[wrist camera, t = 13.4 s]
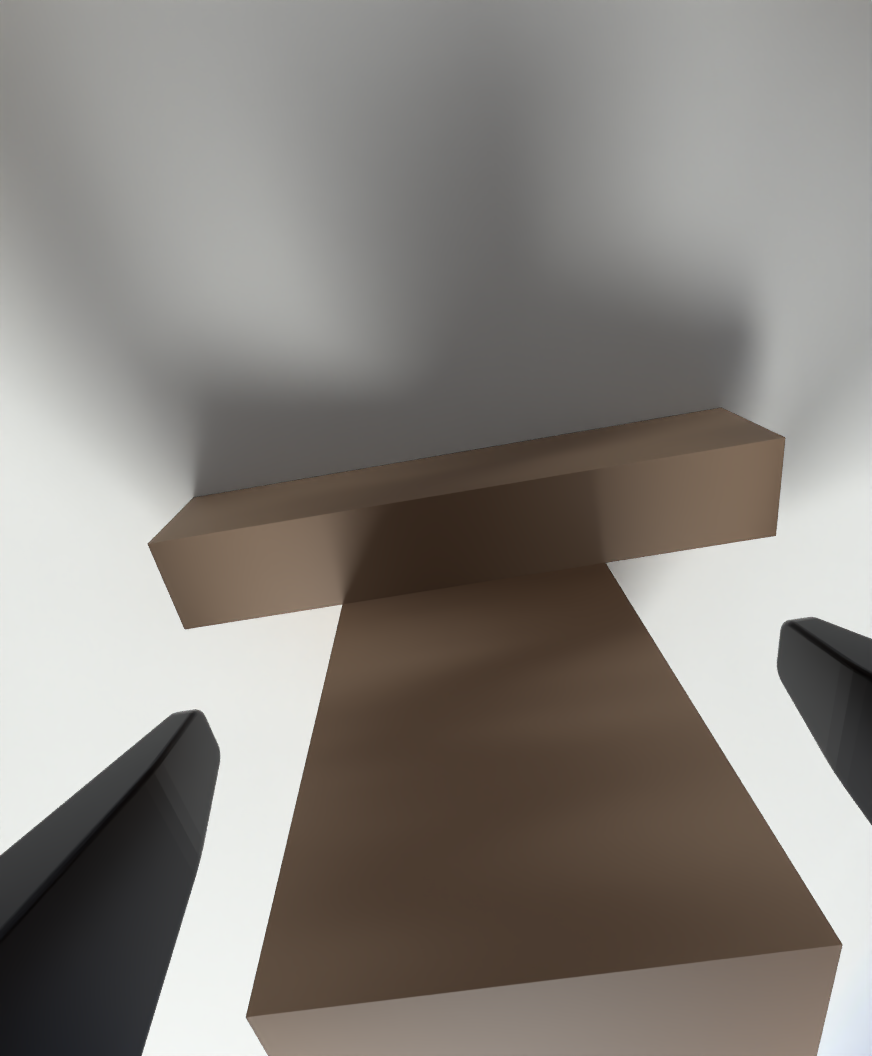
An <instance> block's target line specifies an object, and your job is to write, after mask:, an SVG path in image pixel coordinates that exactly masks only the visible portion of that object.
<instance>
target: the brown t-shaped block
mask: <svg viewBox="0 0 872 1056" xmlns="http://www.w3.org/2000/svg"><path fill="white" fill-rule="evenodd" d="M784 446H785V437H783V436H781V435H779V434H777V433H775V432H772V431H770V430H768V429H766V428H764V427H762V426H760V425H757V424H755V423H753V422H751V421H749V420H747V419H745V418H743V417H740V416H738V415H736V414H734V413H732V412H730V411H728V410H725V409H723V408H716V409H710V410H704V411H698V412H693V413H687V414H681V415H675V416H669V417H663V418H657V419H651V420H646V421H640V422H634V423H628V424H622V425H616V426H610V427H605V428H599V429H593V430H587V431H581V432H575V433H569V434H563V435H558V436H552V437H546V438H540V439H534V440H528V441H522V442H517V443H511V444H505V445H499V446H493V447H487V448H481V449H475V450H470V451H464V452H458V453H452V454H446V455H440V456H434V457H429V458H423V459H417V460H411V461H405V462H399V463H393V464H387V465H382V466H376V467H370V468H364V469H358V470H352V471H346V472H341V473H335V474H329V475H323V476H317V477H311V478H305V479H299V480H294V481H288V482H282V483H276V484H270V485H264V486H258V487H253V488H247V489H241V490H235V491H229V492H223V493H217V494H211V495H206V496H200V497H194V498H193V499H192V500H191V501H190V502H189V503H188V504H187V505H186V506H185V507H184V508H183V509H182V510H181V511H180V512H179V513H178V514H177V515H176V516H175V517H174V518H173V519H172V520H171V521H170V522H169V523H168V524H167V525H166V526H165V527H164V528H163V529H162V530H161V531H160V532H159V533H158V534H157V535H156V536H155V537H154V538H153V539H152V540H151V541H150V542H149V543H148V546H149V548H150V551H151V553H152V555H153V558H154V560H155V562H156V564H157V567H158V569H159V571H160V574H161V576H162V578H163V581H164V583H165V585H166V588H167V590H168V592H169V594H170V597H171V599H172V601H173V604H174V606H175V608H176V611H177V613H178V615H179V617H180V620H181V622H182V624H183V627H184V629H190V628H196V627H203V626H209V625H215V624H222V623H228V622H234V621H241V620H247V619H253V618H259V617H266V616H272V615H278V614H285V613H291V612H297V611H304V610H310V609H316V608H323V607H329V606H335V605H342V604H343V605H342V609H341V613H340V618H339V622H338V626H337V631H336V635H335V639H334V643H333V648H332V652H331V656H330V660H329V665H328V669H327V673H326V677H325V682H324V686H323V690H322V694H321V699H320V703H319V707H318V712H317V716H316V720H315V724H314V729H313V733H312V737H311V741H310V746H309V750H308V754H307V758H306V763H305V767H304V771H303V775H302V780H301V784H300V788H299V793H298V797H297V801H296V805H295V810H294V814H293V818H292V822H291V827H290V831H289V835H288V839H287V844H286V848H285V852H284V856H283V861H282V865H281V869H280V874H279V878H278V882H277V886H276V891H275V895H274V899H273V903H272V908H271V912H270V916H269V920H268V925H267V929H266V933H265V937H264V942H263V946H262V950H261V954H260V959H259V963H258V967H257V972H256V976H255V980H254V984H253V989H252V993H251V997H250V1001H249V1006H248V1010H247V1014H246V1019H247V1020H248V1022H249V1024H250V1025H251V1027H252V1029H253V1031H254V1032H255V1034H256V1036H257V1037H258V1039H259V1041H260V1043H261V1044H262V1046H263V1048H264V1049H265V1051H266V1053H267V1055H268V1056H817V1052H818V1048H819V1044H820V1039H821V1035H822V1031H823V1026H824V1022H825V1018H826V1013H827V1009H828V1005H829V1001H830V996H831V992H832V988H833V983H834V979H835V975H836V970H837V966H838V962H839V957H840V953H841V949H842V943H841V941H840V940H839V938H838V937H837V935H836V933H835V932H834V930H833V929H832V927H831V925H830V924H829V922H828V920H827V919H826V917H825V916H824V914H823V912H822V911H821V909H820V908H819V906H818V904H817V903H816V901H815V900H814V898H813V896H812V895H811V893H810V892H809V890H808V888H807V887H806V885H805V883H804V882H803V880H802V879H801V877H800V875H799V874H798V872H797V871H796V869H795V867H794V866H793V864H792V863H791V861H790V859H789V858H788V856H787V854H786V853H785V851H784V850H783V848H782V846H781V845H780V843H779V842H778V840H777V838H776V837H775V835H774V834H773V832H772V830H771V829H770V827H769V826H768V824H767V822H766V821H765V819H764V817H763V816H762V814H761V813H760V811H759V809H758V808H757V806H756V805H755V803H754V801H753V800H752V798H751V797H750V795H749V793H748V792H747V790H746V789H745V787H744V785H743V784H742V782H741V780H740V779H739V777H738V776H737V774H736V772H735V771H734V769H733V768H732V766H731V764H730V763H729V761H728V760H727V758H726V756H725V755H724V753H723V751H722V750H721V748H720V747H719V745H718V743H717V742H716V740H715V739H714V737H713V735H712V734H711V732H710V731H709V729H708V727H707V726H706V724H705V723H704V721H703V719H702V718H701V716H700V714H699V713H698V711H697V710H696V708H695V706H694V705H693V703H692V702H691V700H690V698H689V697H688V695H687V694H686V692H685V690H684V689H683V687H682V685H681V684H680V682H679V681H678V679H677V677H676V676H675V674H674V673H673V671H672V669H671V668H670V666H669V665H668V663H667V661H666V660H665V658H664V657H663V655H662V653H661V652H660V650H659V648H658V647H657V645H656V644H655V642H654V640H653V639H652V637H651V636H650V634H649V632H648V631H647V629H646V628H645V626H644V624H643V623H642V621H641V619H640V618H639V616H638V615H637V613H636V611H635V610H634V608H633V607H632V605H631V603H630V602H629V600H628V599H627V597H626V595H625V594H624V592H623V591H622V589H621V587H620V586H619V584H618V582H617V581H616V579H615V578H614V576H613V574H612V573H611V571H610V570H609V568H608V566H607V565H606V563H607V562H613V561H619V560H626V559H632V558H638V557H645V556H651V555H657V554H664V553H670V552H676V551H683V550H689V549H695V548H702V547H708V546H714V545H721V544H727V543H733V542H739V541H746V540H752V539H758V538H765V537H771V536H776V529H777V519H778V508H779V498H780V488H781V477H782V467H783V456H784Z"/></svg>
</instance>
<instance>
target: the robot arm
mask: <svg viewBox="0 0 872 1056" xmlns="http://www.w3.org/2000/svg"><path fill="white" fill-rule="evenodd" d="M777 670H778V674H779V677H780V679H781V681H782V683H783V685H784V687H785V689H786V690H787V692H788V694H789V695H790V697H791V699H792V701H793V702H794V704H795V706H796V708H797V709H798V711H799V713H800V715H801V716H802V718H803V720H804V722H805V723H806V725H807V727H808V729H809V730H810V732H811V734H812V735H813V737H814V739H815V741H816V742H817V744H818V746H819V748H820V749H821V751H822V753H823V755H824V756H825V758H826V760H827V761H828V763H829V765H830V766H831V768H832V769H833V771H834V773H835V774H836V776H837V777H838V778H839V780H840V781H841V783H842V784H843V786H844V787H845V789H846V790H847V791H848V793H849V794H850V796H851V797H852V798H853V800H854V801H855V803H856V804H857V805H858V807H859V808H860V810H861V811H862V812H863V814H864V815H865V817H866V818H867V819H868V821H869V822H870V823H871V825H872V639H871V638H868V637H865V636H863V635H860V634H857V633H855V632H852V631H850V630H847V629H844V628H842V627H839V626H837V625H834V624H831V623H829V622H826V621H824V620H821V619H818V618H815V617H806V618H800V619H793V620H788V621H786V622H784V623H783V625H782V626H781V630H780V639H779V648H778V657H777ZM219 764H220V750H219V746H218V743H217V741H216V739H215V737H214V735H213V732H212V730H211V728H210V726H209V723H208V721H207V719H206V717H205V715H204V713H203V712H201V711H200V710H196V709H195V710H188V711H181V712H176V713H173V714H171V715H170V716H169V717H168V718H166V719H165V720H164V721H163V722H162V723H160V724H159V725H158V726H157V727H155V728H154V729H153V730H152V731H151V732H149V733H148V734H147V735H146V736H145V737H143V738H142V739H141V740H140V741H138V742H137V743H136V744H135V745H134V746H132V747H131V748H130V749H129V750H128V751H126V752H125V753H124V754H123V755H122V756H120V757H119V758H118V759H117V760H115V761H114V762H113V763H112V764H111V765H109V766H108V767H107V768H106V769H105V770H103V771H102V772H101V773H100V774H98V775H97V776H96V777H95V778H94V779H92V780H91V781H90V782H89V783H88V784H86V785H85V786H84V787H83V788H82V789H80V790H79V791H78V792H77V793H75V794H74V795H73V796H72V797H71V798H69V799H68V800H67V801H66V802H65V803H63V804H62V805H61V806H60V807H59V808H57V809H56V810H55V811H54V812H52V813H51V814H50V815H49V816H48V817H46V818H45V819H44V820H43V821H42V822H40V823H39V824H38V825H37V826H35V827H34V828H33V829H32V830H31V831H29V832H28V833H27V834H26V835H25V836H23V837H22V838H21V839H20V840H19V841H17V842H16V843H15V844H14V845H12V846H11V847H10V848H9V849H8V850H6V851H5V852H4V853H3V854H2V855H0V1056H142V1053H143V1049H144V1046H145V1043H146V1039H147V1036H148V1033H149V1030H150V1026H151V1023H152V1020H153V1016H154V1013H155V1010H156V1006H157V1003H158V1000H159V996H160V993H161V990H162V986H163V983H164V980H165V976H166V973H167V970H168V967H169V963H170V960H171V957H172V953H173V950H174V947H175V943H176V940H177V937H178V933H179V930H180V927H181V923H182V920H183V917H184V913H185V910H186V907H187V904H188V900H189V897H190V894H191V890H192V887H193V884H194V880H195V877H196V873H197V870H198V866H199V863H200V859H201V855H202V850H203V846H204V841H205V836H206V831H207V826H208V821H209V816H210V810H211V805H212V800H213V795H214V790H215V785H216V780H217V775H218V769H219Z"/></svg>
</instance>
